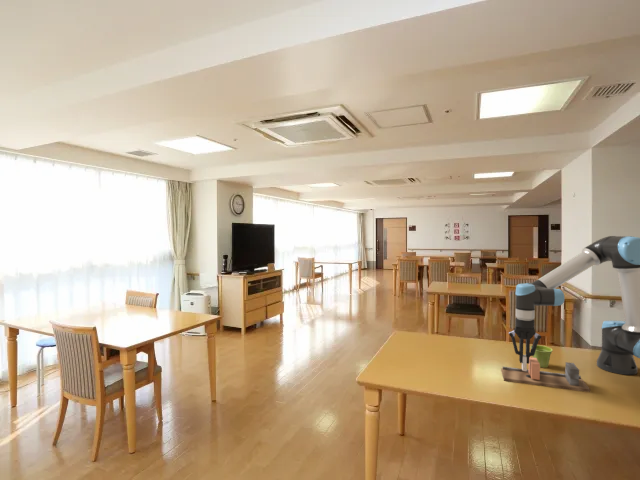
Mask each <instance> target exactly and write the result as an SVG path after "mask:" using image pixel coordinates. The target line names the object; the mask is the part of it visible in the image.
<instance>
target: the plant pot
mask: <svg viewBox="0 0 640 480" xmlns="http://www.w3.org/2000/svg"><path fill="white" fill-rule="evenodd" d="M531 348H532V345H530V349H531ZM552 352H554V351H553V348H552V347H549V346H546V345H539V344H537V348H536V351H535V354H534V356H532V357H533V358H537V360H538V362H539V364H540V368H541V369H542V368H548V367H549V364H550V360H551V354H552Z"/></svg>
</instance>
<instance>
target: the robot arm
mask: <svg viewBox="0 0 640 480" xmlns="http://www.w3.org/2000/svg"><path fill="white" fill-rule="evenodd" d="M607 262H611V265H612V269H613V270H615V271H616V272H617V275H618V282H619V289H620V295H621V302H622V309H623V315H624V317H623V318H624V321H623V320H603V322H602V325H601V351H600V353H599V354H598V357H597V360H596V366H597V367H598V368H599V369H601V370H604V371H606V372H609V373H614V374H619V375H624V376H625V375H626V376H628V375H629V376H630V375H631V376H632V375H633V376H634V375H637V373H638V365H637V363H636V360H635V358H637V359H640V237H637V236H629V235H623V236H621V235H620V236H619V235H618V236H617V235H609V236H605V237H602V238H600V239H598V240H596V241H594V242H592V243H591V244H588V245H587V246H585V247H584V248H582V249H581V252H580V253H578V254H577V255H576V256H574V257H572V258H570V259H568V260H567V261H566V262H564V263H562V264H561V265H559V266H558V267H556V268H554V269H553V270H551V271H549V272H548V273H546V274H545V275H543V276H541V277H540V278H538V279H536V280H535V281H533V282H526V283H518V284H517V285H515V294H514V295H515V325H514V326H515V327H514V329H513V330H512V331H508V334H509V336H510V338H511V342H512V345H513V349H514V353H515V355H517V356H519V359H518V360H519V363H520V364H521V369H522V370H523V371H527V370H528V369H527V367H528V365H529V357H533V356H534V354H535V351H536V348H537V345H539V341H540V340H541V339H542V336H541V335H540V334H539V333H537V332H536V330H535V317H536V315H535V313H536V311H535V310H536V306H542V307H544V306H545V307H546V306H547V307H548V306H550V307H551V306H552V307H556V306H558V307H559V306H562V305H564V304H565V294H564V292H563V290H561V289H560V288H559V287H560V286H562V285H563V284H565V283H567V282H568V281H569V280H572V279H573V278H575V277H577V276H578V275H580V274H582V273H583V272H585V271H586V270H588V269H590V268H591V267H593V266H599V265H601V264H603V263H607ZM515 336H517V337H518V338H519V339H518V340H519V343H518V344H519V347H518V346H517V342H516V338H515ZM533 336H534V338H533ZM532 338H533V342H532V345H531V344H530V343H531V339H532ZM524 340H525V354H524ZM530 346H532V348H530ZM518 348H519V350H518ZM634 357H635V358H634ZM527 364H528V365H527Z"/></svg>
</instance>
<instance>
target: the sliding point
mask: <svg viewBox="0 0 640 480" xmlns="http://www.w3.org/2000/svg"><path fill="white" fill-rule="evenodd" d="M528 370H529V374H530V376H531V378H532V379H536V380H540V371H541V367H540V364H539V362H538V360H537V358H533V356H530V357H529V364H528Z"/></svg>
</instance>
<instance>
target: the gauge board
mask: <svg viewBox="0 0 640 480" xmlns="http://www.w3.org/2000/svg"><path fill="white" fill-rule="evenodd" d="M564 368H565V370H564V371H565V372H564V373H559V372H551V371H550V372H549V371H543V370H540V380H536V379H532V378H531V376H530V374H529V369H527V371H523V370H522V368H517V367H509V366H502V367H501V368H500V369H501V370H500V371H501V374H502V378H503V381H504V382H510V383H519V384H524V385H525V384H526V385H532V386H533V385H534V386H539V387H540V386H541V387H548V388H555V389H563V390H572V391H578V392H586V393H591V389H590V387H589V386H588V384H587V383H586V382H585V381H584V380H583V378H582V377H581V375H580V369H579V368H578V366H577V365H576V364H575V363H574V362H567V361H565V366H564Z"/></svg>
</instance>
